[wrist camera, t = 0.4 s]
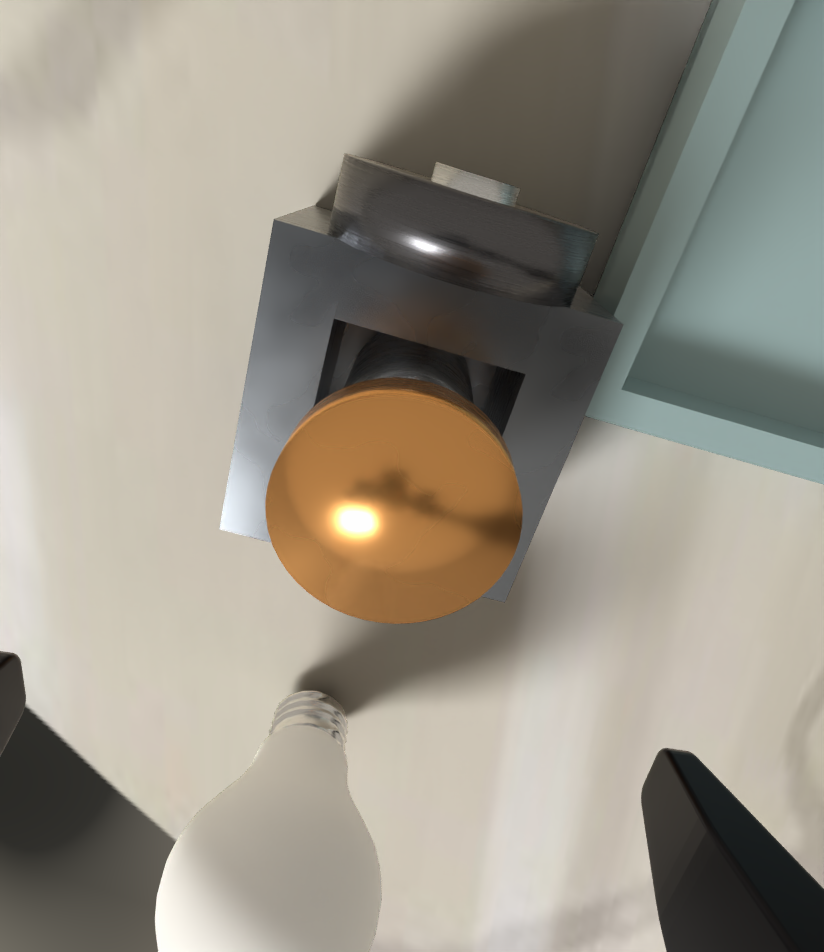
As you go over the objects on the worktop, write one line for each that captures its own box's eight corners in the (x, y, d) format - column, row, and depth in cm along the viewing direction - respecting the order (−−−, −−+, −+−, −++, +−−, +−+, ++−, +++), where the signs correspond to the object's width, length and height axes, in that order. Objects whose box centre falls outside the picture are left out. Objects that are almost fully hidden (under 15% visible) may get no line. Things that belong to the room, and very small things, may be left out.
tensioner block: (607, 215, 18) (687, 240, 12) (491, 514, 22) (510, 638, 17) (329, 128, 17) (275, 110, 12) (264, 453, 22) (200, 560, 16)
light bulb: (287, 611, 25) (186, 913, 15) (428, 692, 26) (423, 1015, 16) (206, 713, 27) (72, 1031, 17) (339, 782, 29) (287, 1110, 19)
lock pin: (513, 331, 19) (562, 440, 11) (462, 475, 21) (475, 647, 13) (351, 283, 18) (292, 365, 11) (316, 434, 20) (245, 589, 13)
